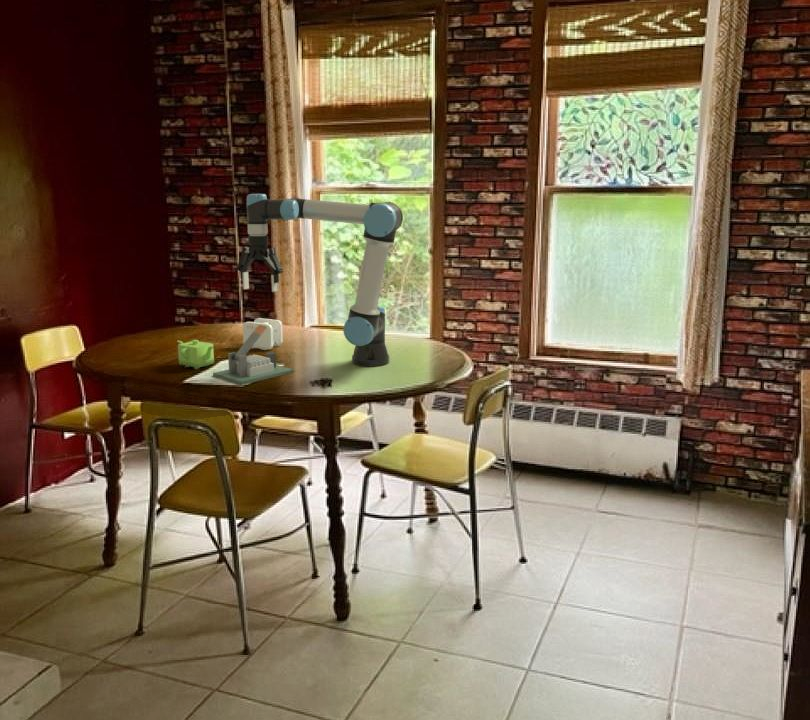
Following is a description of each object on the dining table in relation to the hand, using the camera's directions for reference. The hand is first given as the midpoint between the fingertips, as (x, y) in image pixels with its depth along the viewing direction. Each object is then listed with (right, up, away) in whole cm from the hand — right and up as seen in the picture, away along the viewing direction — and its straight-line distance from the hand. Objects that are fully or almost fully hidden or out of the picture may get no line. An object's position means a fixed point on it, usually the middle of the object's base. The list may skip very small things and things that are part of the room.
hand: (260, 290), depth 306 cm
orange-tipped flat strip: (-2, -21, -10) cm, 24 cm away
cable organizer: (-5, -22, +37) cm, 44 cm away
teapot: (-26, -30, +4) cm, 40 cm away
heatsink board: (-1, -33, -7) cm, 33 cm away
